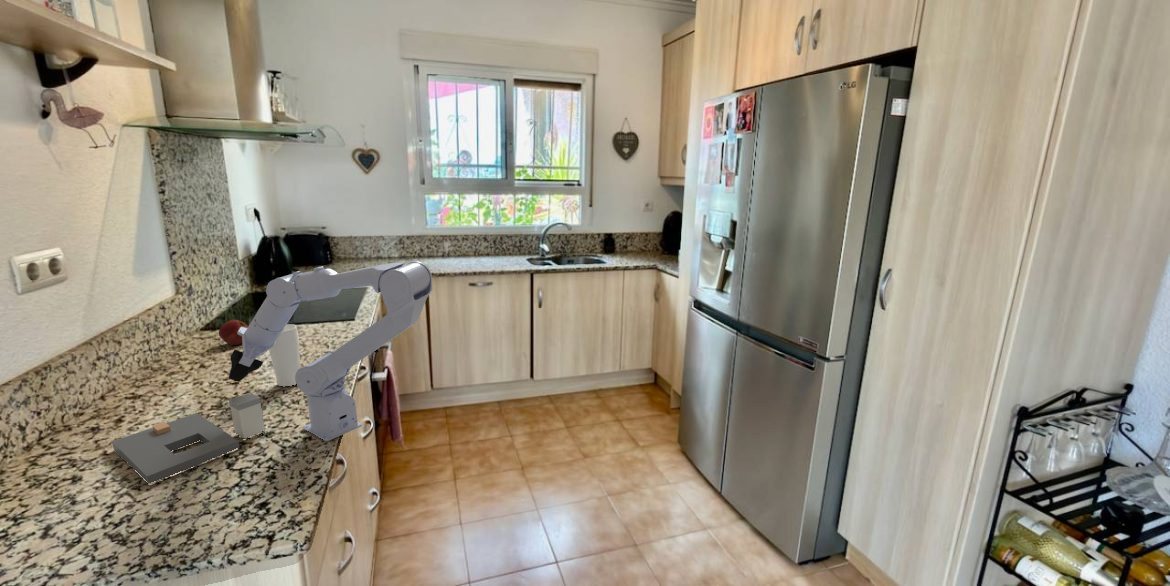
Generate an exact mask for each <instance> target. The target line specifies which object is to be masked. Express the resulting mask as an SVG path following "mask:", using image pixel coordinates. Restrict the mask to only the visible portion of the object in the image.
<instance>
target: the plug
mask: <svg viewBox="0 0 1170 586" xmlns="http://www.w3.org/2000/svg"><path fill="white" fill-rule="evenodd" d="M228 403H229V407H230V408H229V409H230V414H231V419H232V423H233V428H234V434H235V433H236V434H238V435H239V436H241V437H242V438H247V437H250V436H252V435H255V434H258V433H260V432H262V431H265V432H266V427H265V421H264V416H263V410H262V402H261V397H260V396H258V395H257V394H254V393H253V392H248V393H245V394H243V395H239V396H236V397H233V398H229V399H228Z"/></svg>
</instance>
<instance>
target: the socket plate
mask: <svg viewBox="0 0 1170 586" xmlns="http://www.w3.org/2000/svg"><path fill="white" fill-rule="evenodd" d="M199 440H200V441H202V442H203V443H204V444H203V443H201V444H200V445H197V446H195V447H192V448H190V449H187V450H184V451H181V452H179V453H176V454H175V453H174V452H171V451H172V450H175V449H178V448H180V447H183V446H186V445H189V444H192V443H194V442H197V441H199ZM111 443H112V447H113V451H114V450H115V451H116V452H117V453H118V454H119V455H120V456H121V457H122V458H123V459H124V460H125V461H126V462H128V464H129V465H130V466H132V467H133V469H134V470H136V471H137V472H138V473H139V474H140V475H141V476H142V477H143V478H144V479H145V480H146V481H147V482H148V483H151V482H154V481H157V480H159V479H162V478H165V477H168V476H170V475H173V474H175V473H178V472H180V471H183V470H186V469H188V468H191V467H193V466H195V465H198V464H200V463H202V462H205V461H207V460H210V459H212V458H215V457H217V456H220V455H222V454H225V453H227V452H229V451H232V450H234V449H236V448H240V443H239V440H237V439H236V438H235V437H233V435H230V434H229V433H228V432H226V431H224V429H222V428H220V427H219V426H217V425H215V424H214V422H212V421H210V420H208V419H206V418H205V417H204V416H203V415H201V414H199V413H198V412H195V413H193V414H190V415H186V416H184V417H181V418H178V419H174V420H171V421H168V422H164V421H163V422H160V423H158V424H155V425H152V427H150V428H147V429H144V430H141V431H138V432H136V433H132V434H129V435H126V436H124V437H120V438H118V439H115V440H111ZM115 451H114V452H115ZM116 452H115V453H116ZM117 453H116V454H117ZM118 454H117V455H118ZM119 455H118V456H119ZM120 456H119V457H120ZM121 457H120V458H121ZM122 458H121V459H122ZM123 459H122V460H123ZM124 460H123V461H124ZM125 461H124V462H125ZM126 462H125V463H126ZM128 464H127V465H128ZM129 465H128V466H129ZM130 466H129V467H130ZM133 469H132V470H133ZM134 470H133V471H134Z"/></svg>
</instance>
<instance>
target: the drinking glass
mask: <svg viewBox="0 0 1170 586" xmlns="http://www.w3.org/2000/svg"><path fill="white" fill-rule="evenodd" d="M268 351H269V352H268V353H269V355H270V356H269V357H270V359H271V363H272V367H273V370H274V374H275V378H276V383H277V386H279V387H280V386H283V387H282V388H286V387H285V386H290V387H293V386H292V385H294V386H297V385H296V382H295V375H296V372H297V371H298V370H299V369H300V368H301V359H300V357H301V356H300V354H301V353H300V339H299V333H298V328H297V325H295V324H294V323H293V324H292V323H291V324H290V323H287V324H286V326H285V327H284V329H283V331H282V332H281V334H280V335H279V337H278V338H277V340H276V343H275V345H274V346H273V347H272V348H271V349H269V350H268Z"/></svg>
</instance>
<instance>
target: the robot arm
mask: <svg viewBox="0 0 1170 586" xmlns="http://www.w3.org/2000/svg"><path fill="white" fill-rule="evenodd" d="M362 287H372V289H373V290H374V292H375V293H377V294H379V293H381V297H382V300H383V303H384V306H385V309H386V311H387V314H386V315H384V316H383V317H382V318H380V319H379V320H377V321H376V322H375V323H373V324H372V325H370V326H369V327H367V328H365V329H364V330H363V331H361V332H359V334H357V335H355V336H354V337H353V338H351V339H350V340H349V341H347V342H346V343H344V344H342V345H341V346H340V347H338V348H337V349H336V350H331V351H329V352H326V353H325V354H324V355H322V356H321V357H319V358H317V359H316V360H314V361H312V362H310V363H308V364H307V365H304V366H300V369H299V370H298V371H297V372H296V375H295V382H296V384H297V385H296V386H297V388H298V389H299V390H300V392H302V393H303V395H304V396H306V400H307V406H308V407H307V408H308V414H309V421H310V422H309V423H308V424H305V425H304V426H302V429H303V428H304V429H305V431H306V430H307V432H308V431H309V432H308V433H310V432H311V433H313V434H315V435H316V436H315V435H314V436H315V437H317V436H318V437H317V438H319V439H320V438H321V440H322V439H323V440H322V441H324V442H330V441H332V440H333V439H336V438H338V437H340V436H341V437H342V436H343V435H345V434H347V433H350V432H351V431H354V430H356V429H359V428H361V427H362V426H363V423H361V422H359V421H358V415H357V408H356V407H357V405H356V402H355V399H354V398H353V397H352V396H351V395H350V394H349V393H348V392H347V390H346V385H345V383H346V382H347V380H346V376H347V375H348V374H349V372H350V370H351V368H352V367H354V366H355V365H357V364H358V363H359V362H360V361H362V360H363V359H365V358H367V357H368V356H369V355H371V354H372V353H374V352H375V351H376V350H379V348H382V346H384V345H385V344H387V343H388V342H391V340H393V339H394V338H396V337H397V336H399V335H400V334H402V333H403V332H405V331H406V330H408V329H409V328H411V327H412V326H414V325H415V324H416V323H418V321H419V319H420V316H421V314H422V311H423V308H424V305H425V304H426V301H427V300H428V299H427V298H428V297H429V295H431V293H432V291H433V275H432V272H431V270H430V268H429V267H428V266H427V265H426V264H425V263H424V262H420V261H410V262H407V263H406V262H405V261H404V262H394V263H393V262H392V263H391V262H390V263H383V264H377V265H372V266H368V267H362V268H358V269H354V270H350V271H345V272H344V271H343V272H339V273H338V272H337V271H336V270H334V269H333V268H325V267H324V266H318V267H314V268H313V270H312V271H306V272H302V271H301V270H298V271H295V272H292V273H290V274H288V275H284V276H281V277H276V278H275V279H272V280H270V281H269V282H268V284H267V285H266V287H265V288H266V289H265V290H266V291H265V293H266V298H265V299H264V300H263V302H262V304H261V306H260V307H259V309H258V310H257V312H256V314H255V315H254V317H253V319H252V320H251V322H250V323H249V325H247V326H248V328H245V327H240V329H239V330H238V332H237V334H238V335H240V336H242V342H243V343H242V351H241V350H238V349H234V350H233V352H232V353H231V355H230V359H229V360H230V362H231V366H230V370H229V373H228V379H229V380H232V381H235V382H238V383H239V382H241V381H242V380H243V379H244V378H247V376H248V375H249V374H250V373H252V372H254V371H257V370H259V369H260V368H261V367H262V366H263V363H264V361H262V360H259V359H257V358H258V357H260V356H262V355H263V354H264V353H266V352H268V351H269V349H271V348H272V347H273V346H274V345H275V343H276V340H277V338H278V337H279V335H280V334H281V332H282V331H283V329H284V327H285V326H286V324H289V321H290V320H291V318H292V317H293V315H294V314H295V312H296V310H297V309H298V307H299V306H300V304H301V302H310V301H311V302H312V301H317V300H323V299H329V298H335V297H337V296H338V295H339V294H340V292H341V291H342V290H347V289H354V288H362ZM304 429H303V430H304ZM311 433H310V434H311ZM313 434H312V435H313Z"/></svg>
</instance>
